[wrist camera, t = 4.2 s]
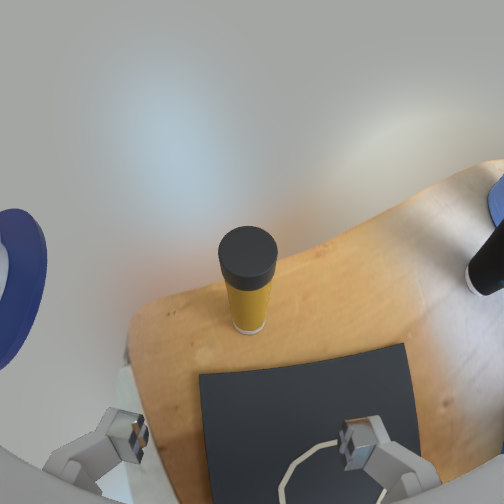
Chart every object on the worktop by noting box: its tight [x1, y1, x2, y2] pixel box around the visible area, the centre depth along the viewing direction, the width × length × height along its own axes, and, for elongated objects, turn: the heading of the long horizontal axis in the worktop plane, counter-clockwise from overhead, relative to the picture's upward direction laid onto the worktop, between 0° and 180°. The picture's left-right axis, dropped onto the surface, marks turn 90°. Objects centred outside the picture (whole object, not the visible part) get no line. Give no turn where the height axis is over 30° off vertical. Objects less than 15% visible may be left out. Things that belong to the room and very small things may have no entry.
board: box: [199, 343, 421, 504], centre depth 19 cm, size 20×22×1 cm
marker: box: [218, 226, 278, 335], centre depth 21 cm, size 3×3×13 cm
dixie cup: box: [465, 218, 504, 296], centre depth 24 cm, size 8×8×11 cm
